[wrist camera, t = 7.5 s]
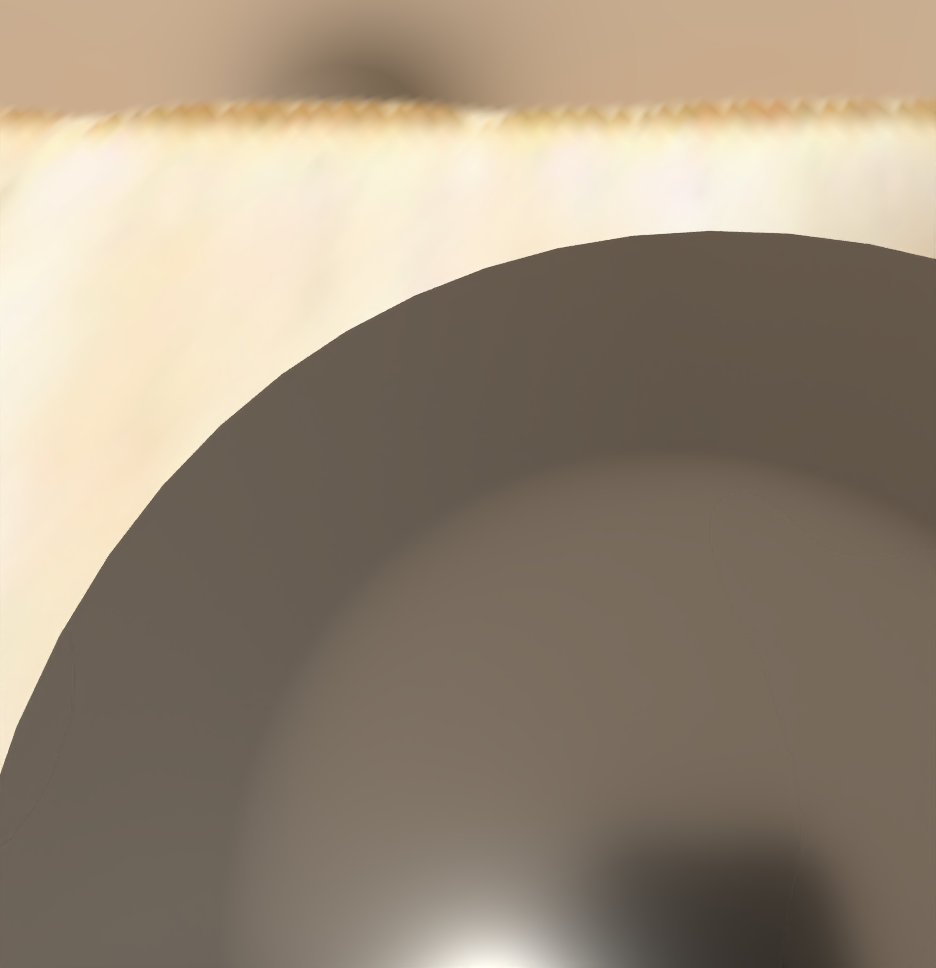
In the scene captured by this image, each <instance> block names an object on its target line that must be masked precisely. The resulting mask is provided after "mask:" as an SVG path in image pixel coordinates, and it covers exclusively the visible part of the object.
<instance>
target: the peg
mask: <svg viewBox="0 0 936 968" xmlns="http://www.w3.org/2000/svg"><path fill="white" fill-rule="evenodd" d="M0 968H936V259H932V258H928V257H923V256H919V255H915V254H910V253H906V252H901V251H897V250H893V249H888V248H884V247H880V246H875V245H871V244H863V243H856V242H848V241H841V240H833V239H825V238H818V237H810V236H802V235H795V234H782V233H753V232H724V231H702V232H687V233H671V234H655V235H640V236H629V237H623V238H617V239H611V240H605V241H599V242H593V243H587V244H581V245H575V246H569V247H563V248H557V249H554V250H550V251H546V252H543V253H539V254H535V255H532V256H528V257H525V258H521V259H517V260H514V261H510V262H506V263H503V264H499V265H495V266H492V267H488V268H485V269H482V270H479V271H477V272H474V273H472V274H469V275H467V276H464V277H462V278H459V279H456V280H454V281H451V282H449V283H446V284H444V285H441V286H439V287H436V288H433V289H431V290H428V291H426V292H423V293H421V294H418V295H415V296H413V297H411V298H410V299H408V300H406V301H404V302H402V303H400V304H398V305H396V306H394V307H392V308H390V309H388V310H386V311H385V312H383V313H381V314H379V315H377V316H375V317H373V318H371V319H369V320H367V321H365V322H363V323H361V324H359V325H358V326H356V327H354V328H352V329H350V330H348V331H346V332H345V333H343V334H342V335H340V336H339V337H337V338H336V339H334V340H333V341H331V342H330V343H328V344H327V345H325V346H324V347H322V348H321V349H319V350H318V351H316V352H315V353H313V354H312V355H310V356H309V357H307V358H306V359H304V360H303V361H301V362H300V363H298V364H297V365H295V366H294V367H292V368H291V369H289V370H288V371H286V372H285V373H283V374H282V375H281V376H279V377H278V378H277V379H276V380H275V381H273V382H272V383H271V384H270V385H269V386H267V387H266V388H265V389H264V390H263V391H261V392H260V393H259V394H258V395H257V396H255V397H254V398H253V399H252V400H251V401H249V402H248V403H247V404H246V405H245V406H243V407H242V408H241V409H240V410H239V411H237V412H236V413H235V414H234V415H233V416H231V417H230V418H229V419H228V420H227V421H225V422H224V423H223V424H222V425H221V426H220V427H219V428H218V429H217V430H216V431H215V432H214V433H213V434H212V435H211V436H210V437H209V438H208V439H207V440H206V441H205V442H204V443H203V444H202V445H201V446H200V447H199V448H198V450H197V451H196V452H195V453H194V454H193V455H192V456H191V457H190V458H189V459H188V460H187V461H186V462H185V463H184V464H183V465H182V466H181V467H180V468H179V469H178V470H177V471H176V472H175V473H174V474H173V476H172V477H171V478H170V479H169V480H168V481H167V482H166V483H165V484H164V485H163V486H162V487H161V488H160V490H159V491H158V492H157V494H156V495H155V496H154V498H153V499H152V500H151V501H150V503H149V504H148V505H147V507H146V508H145V509H144V510H143V512H142V513H141V514H140V516H139V517H138V518H137V520H136V521H135V522H134V523H133V525H132V526H131V527H130V529H129V530H128V531H127V533H126V534H125V535H124V536H123V538H122V539H121V540H120V542H119V543H118V544H117V545H116V547H115V548H114V549H113V551H112V552H111V553H110V555H109V556H108V557H107V559H106V561H105V562H104V564H103V566H102V567H101V569H100V571H99V572H98V574H97V575H96V577H95V579H94V580H93V582H92V584H91V585H90V587H89V589H88V590H87V592H86V593H85V595H84V597H83V598H82V600H81V602H80V603H79V605H78V607H77V608H76V610H75V611H74V613H73V615H72V616H71V618H70V620H69V621H68V623H67V625H66V626H65V628H64V629H63V631H62V633H61V634H60V636H59V638H58V640H57V642H56V645H55V647H54V649H53V651H52V653H51V655H50V657H49V659H48V662H47V664H46V666H45V668H44V670H43V672H42V674H41V676H40V678H39V681H38V683H37V685H36V687H35V689H34V691H33V693H32V695H31V698H30V700H29V702H28V704H27V706H26V708H25V710H24V712H23V715H22V717H21V719H20V721H19V723H18V725H17V728H16V730H15V733H14V736H13V739H12V742H11V745H10V748H9V751H8V754H7V756H6V759H5V762H4V765H3V768H2V771H1V774H0Z"/></svg>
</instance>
